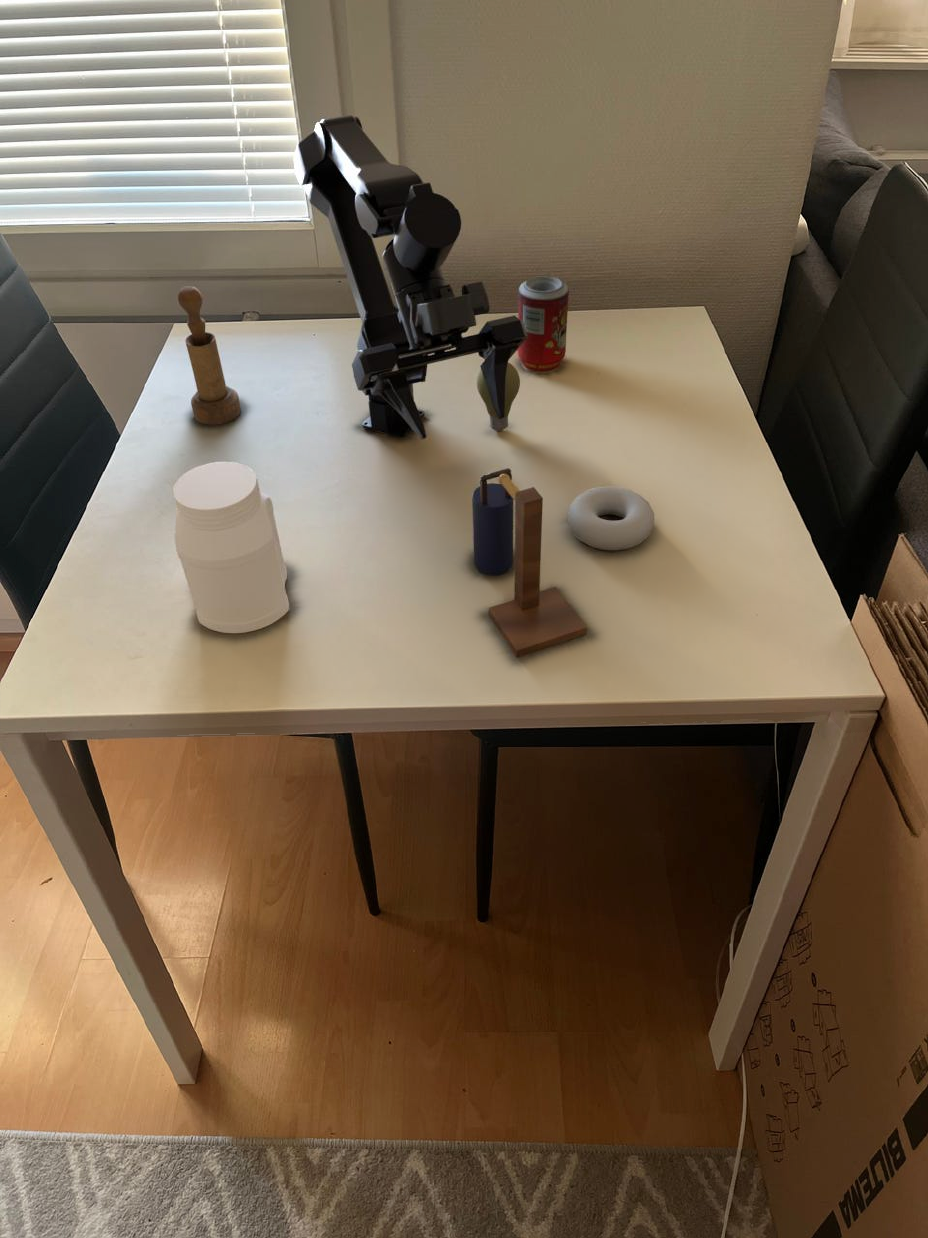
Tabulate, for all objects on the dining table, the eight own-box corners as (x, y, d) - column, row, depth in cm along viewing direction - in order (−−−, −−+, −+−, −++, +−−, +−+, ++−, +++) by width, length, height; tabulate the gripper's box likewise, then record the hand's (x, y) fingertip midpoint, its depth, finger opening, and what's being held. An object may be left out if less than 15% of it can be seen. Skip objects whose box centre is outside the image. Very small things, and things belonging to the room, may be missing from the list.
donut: (643, 564, 103) (660, 511, 110) (647, 540, 101) (663, 487, 108) (557, 547, 106) (578, 496, 113) (558, 524, 103) (579, 473, 110)
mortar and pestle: (230, 426, 127) (200, 301, 114) (186, 423, 128) (152, 297, 115) (248, 402, 131) (221, 278, 119) (205, 398, 132) (174, 275, 120)
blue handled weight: (468, 556, 105) (464, 462, 96) (503, 546, 106) (502, 452, 97) (483, 579, 102) (481, 484, 93) (519, 568, 103) (520, 473, 94)
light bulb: (471, 437, 123) (469, 368, 116) (486, 416, 127) (485, 348, 120) (511, 444, 121) (511, 376, 114) (525, 423, 125) (526, 355, 118)
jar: (290, 626, 98) (265, 513, 87) (198, 640, 97) (162, 526, 86) (286, 558, 106) (262, 447, 95) (201, 570, 105) (168, 458, 94)
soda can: (559, 377, 134) (563, 296, 125) (512, 372, 135) (512, 291, 127) (569, 354, 138) (573, 274, 130) (523, 350, 140) (524, 270, 132)
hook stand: (469, 585, 102) (465, 471, 91) (534, 565, 104) (537, 451, 93) (516, 657, 93) (518, 541, 83) (586, 634, 95) (596, 518, 85)
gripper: (348, 275, 90) (396, 428, 90) (521, 240, 95) (566, 385, 95) (334, 319, 100) (377, 456, 101) (490, 285, 105) (531, 416, 106)
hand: (463, 428), depth 100 cm, fingers open, 9 cm apart
